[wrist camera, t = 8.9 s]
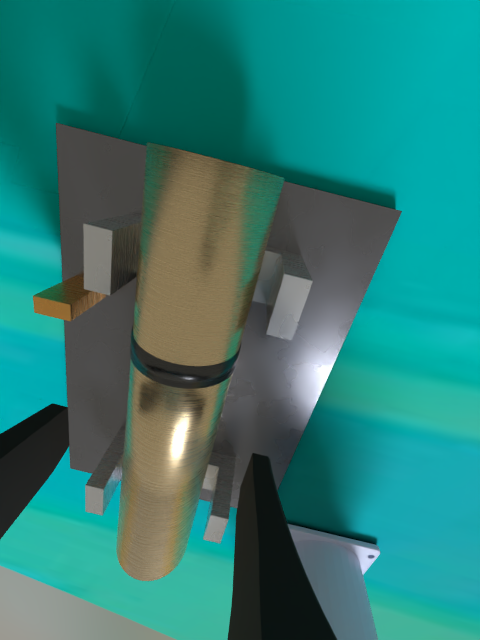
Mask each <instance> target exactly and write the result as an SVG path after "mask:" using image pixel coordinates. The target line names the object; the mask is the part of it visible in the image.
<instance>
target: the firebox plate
mask: <svg viewBox="0 0 480 640" xmlns="http://www.w3.org/2000/svg"><path fill="white" fill-rule="evenodd" d="M56 134H57V158H58V182H59V206H60V230H61V254H62V278H63V282H61V283H59V284H57V285H55V286H53V287H50V288H48V289H46V290H44V291H42V292H40V293H38V294H36V295H34V296H33V301H34V312H35V313H39V314H43V315H47V316H51V317H55V318H59V319H63V320H64V326H65V350H66V374H67V398H68V421H69V446H70V468H71V469H76V470H80V471H84V472H88V473H92V476H91V477H90V479H89V480H88V482H87V484H86V512H90V513H94V514H99V515H103V514H104V512H105V510H106V508H107V506H108V504H109V502H110V500H111V498H112V496H113V494H114V492H115V490H116V488H117V486H118V484H119V482H120V480H122V467H123V454H124V441H125V428H126V414H127V401H128V388H129V375H130V361H131V358H130V344H131V330H132V326H133V322H134V308H135V295H136V282H137V269H138V255H139V242H140V229H141V216H142V202H143V189H144V176H145V163H146V149H147V146H144V145H140V144H136V143H132V142H129V141H125V140H121V139H117V138H113V137H109V136H105V135H101V134H97V133H93V132H89V131H85V130H82V129H78V128H74V127H70V126H66V125H62V124H58V123H56ZM401 212H402V211H399V210H395V209H391V208H387V207H383V206H379V205H375V204H371V203H368V202H364V201H360V200H356V199H352V198H348V197H344V196H340V195H336V194H332V193H328V192H324V191H321V190H317V189H313V188H309V187H305V186H301V185H297V184H293V183H289V182H285V181H284V183H283V187H282V190H281V194H280V198H279V202H278V205H277V209H276V213H275V217H274V220H273V224H272V228H271V232H270V235H269V239H268V243H267V247H266V250H265V254H264V258H263V262H262V265H261V269H260V273H259V277H258V280H257V284H256V288H255V292H254V295H253V299H252V303H251V307H250V310H249V314H248V318H247V322H246V325H245V329H244V333H243V337H242V340H241V349H240V353H239V356H238V360H237V364H236V367H235V370H234V372H233V374H232V378H231V382H230V385H229V389H228V393H227V397H226V400H225V404H224V408H223V412H222V415H221V419H220V423H219V427H218V430H217V434H216V438H215V442H214V445H213V449H212V453H211V457H210V460H209V464H208V468H207V472H206V475H205V479H204V483H203V487H202V490H201V494H200V498H199V499H201V500H205V501H209V502H210V506H209V511H208V517H207V522H206V527H205V533H204V538H203V539H204V540H208V541H213V542H217V543H220V542H221V539H222V536H223V533H224V530H225V528H226V525H227V522H228V519H229V510H230V507H235V508H238V501H239V494H240V487H241V484H242V481H243V478H244V475H245V473H246V470H247V467H248V464H249V461H250V458H251V456H252V453H256V454H260V455H264V456H268V457H269V458H270V462H271V467H272V472H273V476H274V480H275V484H276V488H277V490H278V488H279V486H280V483H281V481H282V479H283V477H284V474H285V472H286V470H287V468H288V465H289V463H290V461H291V459H292V456H293V454H294V452H295V450H296V447H297V445H298V443H299V441H300V438H301V436H302V434H303V432H304V430H305V427H306V425H307V423H308V421H309V418H310V416H311V414H312V412H313V409H314V407H315V405H316V403H317V400H318V398H319V396H320V394H321V391H322V389H323V387H324V385H325V382H326V380H327V378H328V376H329V374H330V371H331V369H332V367H333V365H334V362H335V360H336V358H337V356H338V353H339V351H340V349H341V347H342V344H343V342H344V340H345V338H346V335H347V333H348V331H349V329H350V326H351V324H352V322H353V320H354V318H355V315H356V313H357V311H358V309H359V306H360V304H361V302H362V300H363V297H364V295H365V293H366V291H367V288H368V286H369V284H370V282H371V279H372V277H373V275H374V273H375V270H376V268H377V266H378V264H379V262H380V259H381V257H382V255H383V253H384V250H385V248H386V246H387V244H388V241H389V239H390V237H391V235H392V232H393V230H394V228H395V226H396V223H397V221H398V219H399V217H400V214H401Z"/></svg>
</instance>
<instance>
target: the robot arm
mask: <svg viewBox="0 0 480 640" xmlns="http://www.w3.org/2000/svg"><path fill="white" fill-rule="evenodd" d="M68 447H69V421H68V407H65V406H60V405H56V404H51V405H49V406H47V407H45V408H44V409H42V410H40V411H39V412H37V413H35V414H33V415H32V416H30V417H28V418H27V419H25V420H23V421H22V422H20V423H18V424H17V425H15V426H13V427H12V428H10V429H8V430H6V431H5V432H3V433H1V434H0V539H1V538H2V536H3V535H4V534H5V533H6V531H7V530H8V529H9V527H10V526H11V525H12V524H13V522H14V521H15V520H16V519H17V517H18V516H19V515H20V513H21V512H22V511H23V510H24V508H25V507H26V506H27V504H28V503H29V502H30V501H31V499H32V498H33V497H34V496H35V494H36V493H37V492H38V490H39V489H40V488H41V487H42V485H43V484H44V483H45V481H46V480H47V479H48V478H49V476H50V475H51V474H52V472H53V471H54V469H55V468H56V466H57V464H58V463H59V461H60V460H61V458H62V457H63V455H64V453H65V452H66V450H67V448H68ZM379 554H380V550H379V547H378V546H377V545H375V544H371V543H366V542H362V541H358V540H354V539H350V538H345V537H341V536H337V535H333V534H329V533H325V532H320V531H316V530H312V529H308V528H304V527H299V526H295V525H291V524H287V521H286V518H285V515H284V512H283V509H282V505H281V502H280V499H279V495H278V492H277V488H276V484H275V480H274V476H273V472H272V467H271V462H270V458H269V457H268V456H264V455H260V454H256V453H252V456H251V458H250V461H249V464H248V467H247V470H246V473H245V475H244V478H243V481H242V484H241V487H240V494H239V501H238V508H237V515H236V533H235V554H234V576H233V595H232V608H231V616H230V625H229V633H228V640H378V637H377V633H376V629H375V624H374V620H373V616H372V612H371V608H370V603H369V599H368V595H367V591H366V586H365V582H364V578H363V574H364V573H365V572H366V571H367V569H368V568H369V567H370V566H371V564H372V563H373V562H374V561H375V559H376V558H377V557H378V556H379Z"/></svg>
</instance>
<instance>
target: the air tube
mask: <svg viewBox="0 0 480 640" xmlns="http://www.w3.org/2000/svg"><path fill="white" fill-rule="evenodd" d="M284 179H285V178H283V177H280V176H277V175H274V174H270V173H267V172H264V171H260V170H257V169H253V168H249V167H246V166H242V165H238V164H235V163H231V162H227V161H223V160H219V159H216V158H212V157H208V156H204V155H200V154H196V153H192V152H188V151H184V150H180V149H176V148H172V147H167V146H163V145H159V144H154V143H148V142H147V149H146V163H145V176H144V189H143V202H142V216H141V229H140V242H139V255H138V269H137V282H136V295H135V308H134V322H133V326H132V330H131V344H130V358H131V361H130V375H129V388H128V401H127V414H126V428H125V441H124V454H123V467H122V481H121V494H120V507H119V520H118V534H117V557H118V560H119V563H120V565H121V567H122V568H123V570H124V571H125V572H126V573H127V574H128V575H129V576H131V577H133V578H135V579H137V580H142V581H152V580H157V579H160V578H162V577H164V576H166V575H167V574H169V573H170V572H171V571H172V570H173V569H174V568H175V567H176V566H177V565H178V564H179V562H180V561H181V559H182V557H183V555H184V553H185V550H186V547H187V543H188V539H189V535H190V532H191V528H192V524H193V520H194V517H195V513H196V509H197V505H198V502H199V498H200V494H201V490H202V487H203V483H204V479H205V475H206V472H207V468H208V464H209V460H210V457H211V453H212V449H213V445H214V442H215V438H216V434H217V430H218V427H219V423H220V419H221V415H222V412H223V408H224V404H225V400H226V397H227V393H228V389H229V385H230V382H231V378H232V374H233V372H234V370H235V367H236V364H237V360H238V356H239V353H240V349H241V340H242V337H243V333H244V329H245V325H246V322H247V318H248V314H249V310H250V307H251V303H252V299H253V295H254V292H255V288H256V284H257V280H258V277H259V273H260V269H261V265H262V262H263V258H264V254H265V250H266V247H267V243H268V239H269V235H270V232H271V228H272V224H273V220H274V217H275V213H276V209H277V205H278V202H279V198H280V194H281V190H282V187H283V183H284Z"/></svg>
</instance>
